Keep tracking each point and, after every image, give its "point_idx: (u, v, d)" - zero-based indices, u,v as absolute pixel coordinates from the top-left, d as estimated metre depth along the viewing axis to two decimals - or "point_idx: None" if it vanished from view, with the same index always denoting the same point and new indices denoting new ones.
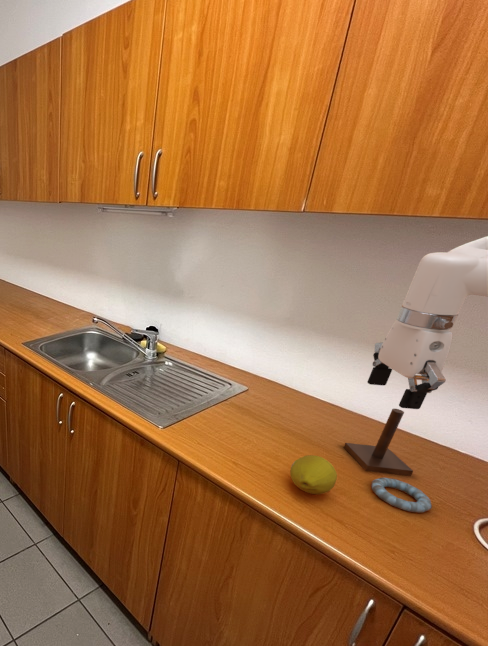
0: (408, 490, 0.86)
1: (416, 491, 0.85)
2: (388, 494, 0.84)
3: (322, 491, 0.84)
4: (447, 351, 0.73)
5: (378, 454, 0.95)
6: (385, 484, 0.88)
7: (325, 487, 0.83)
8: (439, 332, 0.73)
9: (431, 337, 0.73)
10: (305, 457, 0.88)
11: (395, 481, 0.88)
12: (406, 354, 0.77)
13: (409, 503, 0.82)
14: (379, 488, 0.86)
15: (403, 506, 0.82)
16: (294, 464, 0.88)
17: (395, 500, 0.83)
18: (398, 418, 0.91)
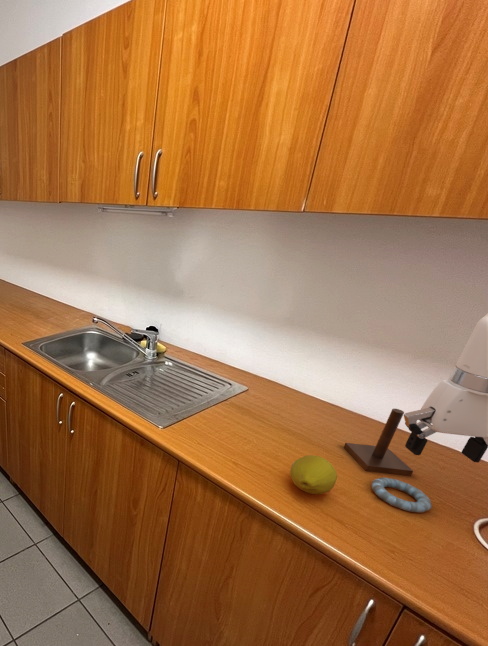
0: (408, 490, 0.86)
1: (416, 491, 0.85)
2: (388, 494, 0.84)
3: (322, 491, 0.84)
4: None
5: (378, 454, 0.95)
6: (385, 484, 0.88)
7: (325, 487, 0.83)
8: None
9: None
10: (305, 457, 0.88)
11: (395, 481, 0.88)
12: None
13: (409, 503, 0.82)
14: (379, 488, 0.86)
15: (403, 506, 0.82)
16: (294, 464, 0.88)
17: (395, 500, 0.83)
18: (398, 418, 0.91)
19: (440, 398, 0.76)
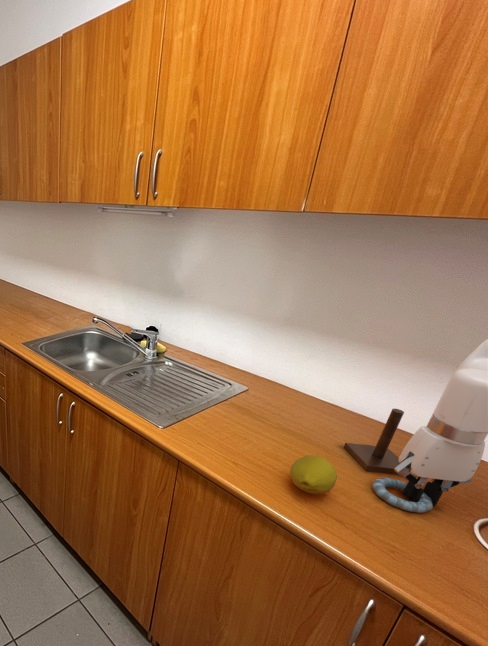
0: None
1: None
2: (389, 494, 0.84)
3: (322, 491, 0.84)
4: None
5: (378, 454, 0.95)
6: (386, 484, 0.88)
7: (325, 487, 0.83)
8: None
9: None
10: (305, 457, 0.88)
11: (396, 481, 0.88)
12: (466, 465, 0.78)
13: (410, 503, 0.82)
14: (380, 488, 0.86)
15: (404, 506, 0.82)
16: (294, 464, 0.88)
17: (396, 500, 0.83)
18: (398, 418, 0.91)
19: (418, 445, 0.80)
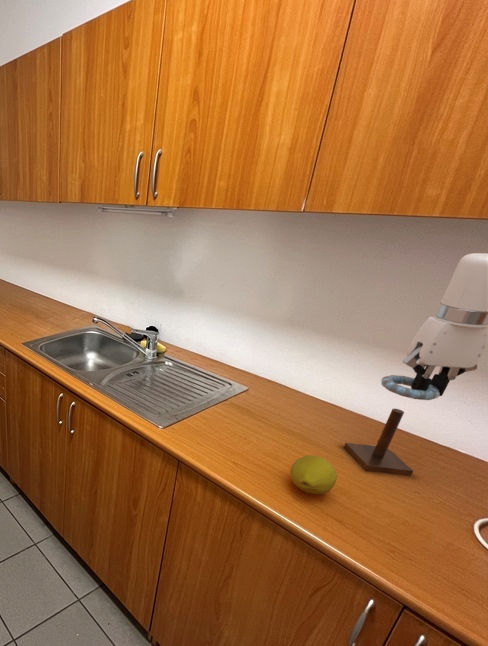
0: None
1: None
2: (398, 385, 0.88)
3: (322, 491, 0.84)
4: None
5: (378, 454, 0.95)
6: (394, 380, 0.91)
7: (325, 487, 0.83)
8: None
9: None
10: (305, 457, 0.88)
11: (404, 377, 0.91)
12: (472, 350, 0.81)
13: (418, 391, 0.85)
14: (389, 382, 0.89)
15: (412, 394, 0.86)
16: (294, 464, 0.88)
17: (404, 389, 0.86)
18: (398, 418, 0.91)
19: (427, 333, 0.84)
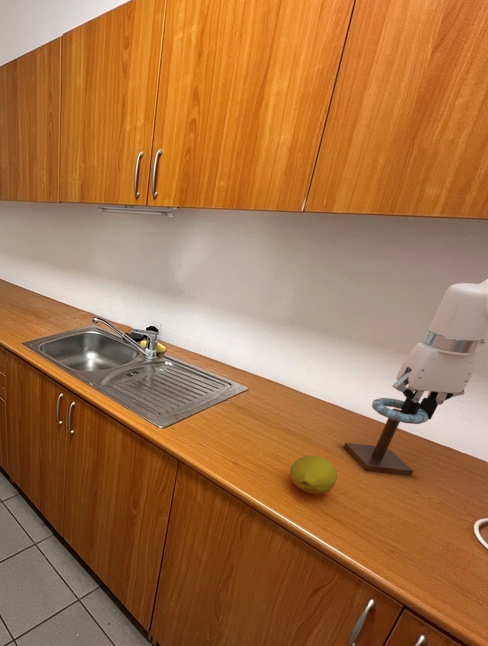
0: None
1: None
2: (387, 409, 0.90)
3: (322, 491, 0.84)
4: None
5: (378, 454, 0.95)
6: (385, 403, 0.93)
7: (325, 487, 0.83)
8: None
9: None
10: (305, 457, 0.88)
11: (395, 400, 0.94)
12: (459, 376, 0.84)
13: (407, 415, 0.88)
14: (379, 405, 0.92)
15: (402, 418, 0.88)
16: (294, 464, 0.88)
17: (394, 413, 0.89)
18: None
19: (415, 359, 0.86)
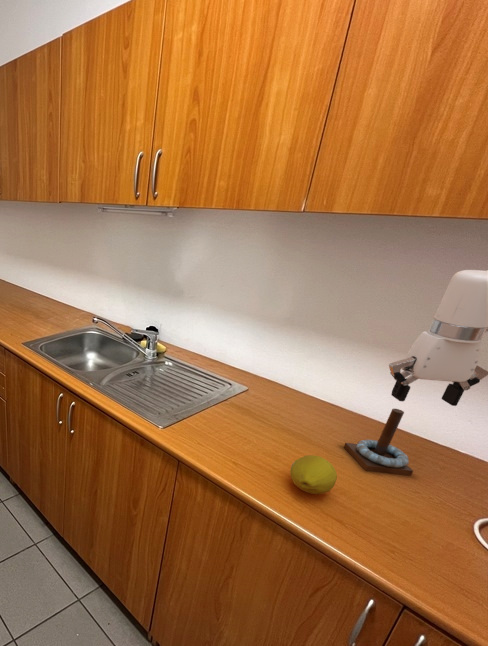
0: (389, 449, 0.97)
1: (395, 449, 0.96)
2: (371, 452, 0.95)
3: (322, 491, 0.84)
4: None
5: (378, 454, 0.95)
6: (368, 445, 0.98)
7: (325, 487, 0.83)
8: None
9: None
10: (305, 457, 0.88)
11: None
12: (465, 364, 0.83)
13: (389, 459, 0.92)
14: (363, 448, 0.96)
15: (383, 462, 0.93)
16: (294, 464, 0.88)
17: (376, 457, 0.93)
18: (398, 418, 0.91)
19: (420, 348, 0.85)
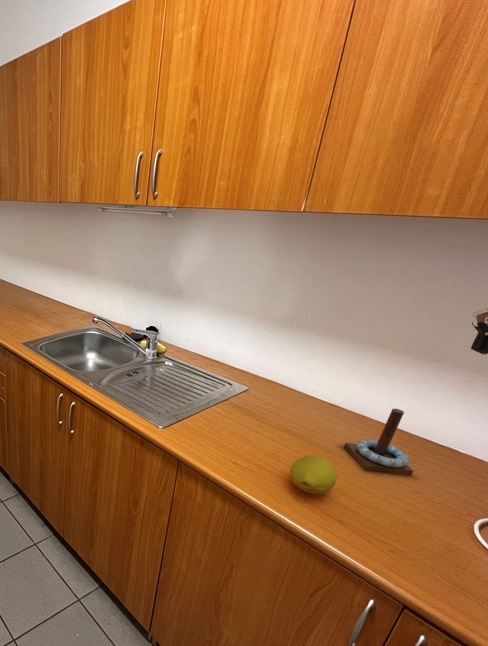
0: (389, 449, 0.97)
1: (395, 449, 0.96)
2: (371, 452, 0.95)
3: (322, 491, 0.84)
4: None
5: (378, 454, 0.95)
6: (368, 445, 0.98)
7: (325, 487, 0.83)
8: None
9: None
10: (305, 457, 0.88)
11: None
12: None
13: (389, 459, 0.92)
14: (363, 448, 0.96)
15: (383, 462, 0.93)
16: (294, 464, 0.88)
17: (376, 457, 0.93)
18: (398, 418, 0.91)
19: None
